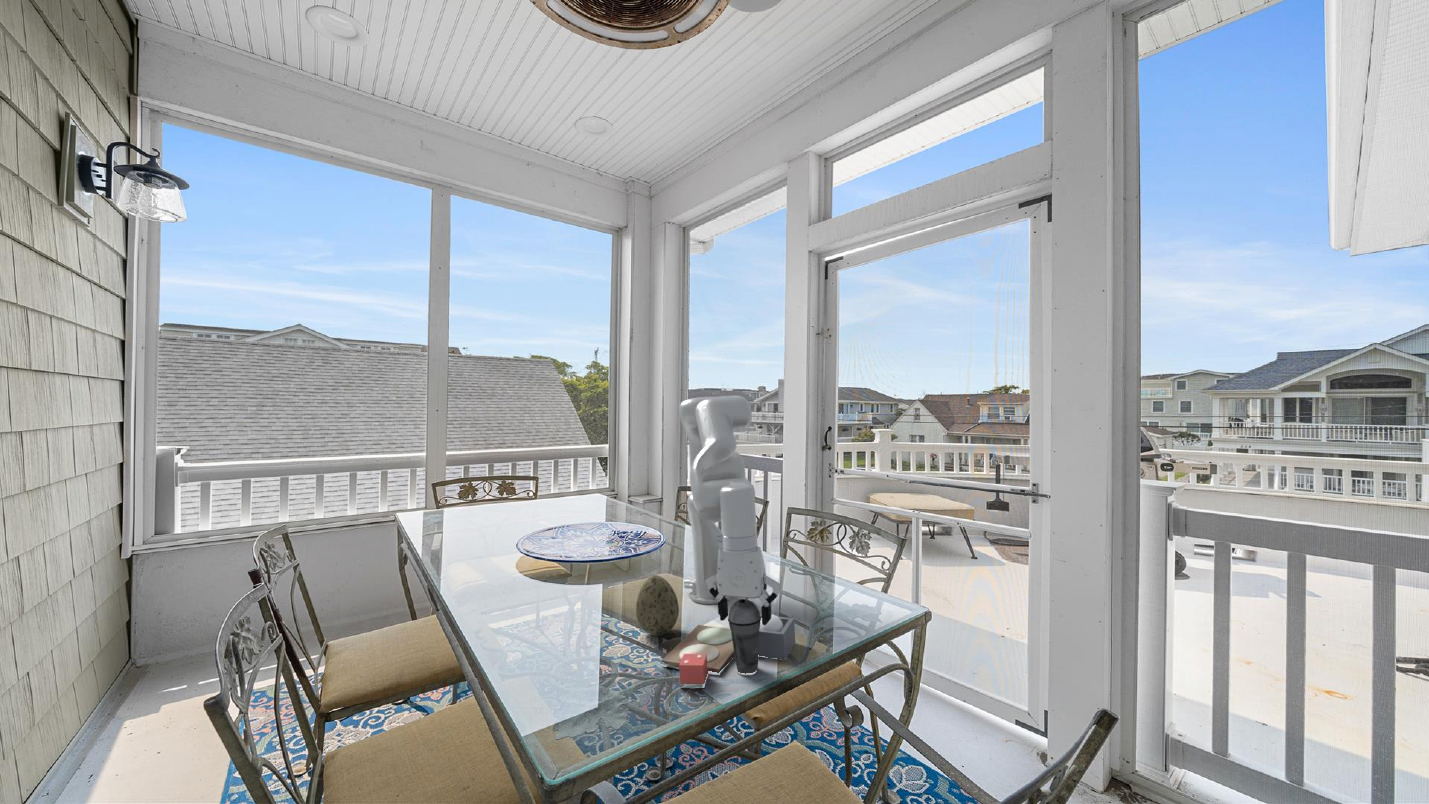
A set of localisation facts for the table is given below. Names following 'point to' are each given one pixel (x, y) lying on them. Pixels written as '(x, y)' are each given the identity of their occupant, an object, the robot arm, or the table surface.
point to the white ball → (772, 624)
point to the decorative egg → (657, 606)
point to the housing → (777, 640)
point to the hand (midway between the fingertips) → (744, 620)
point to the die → (693, 669)
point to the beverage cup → (745, 634)
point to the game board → (705, 647)
